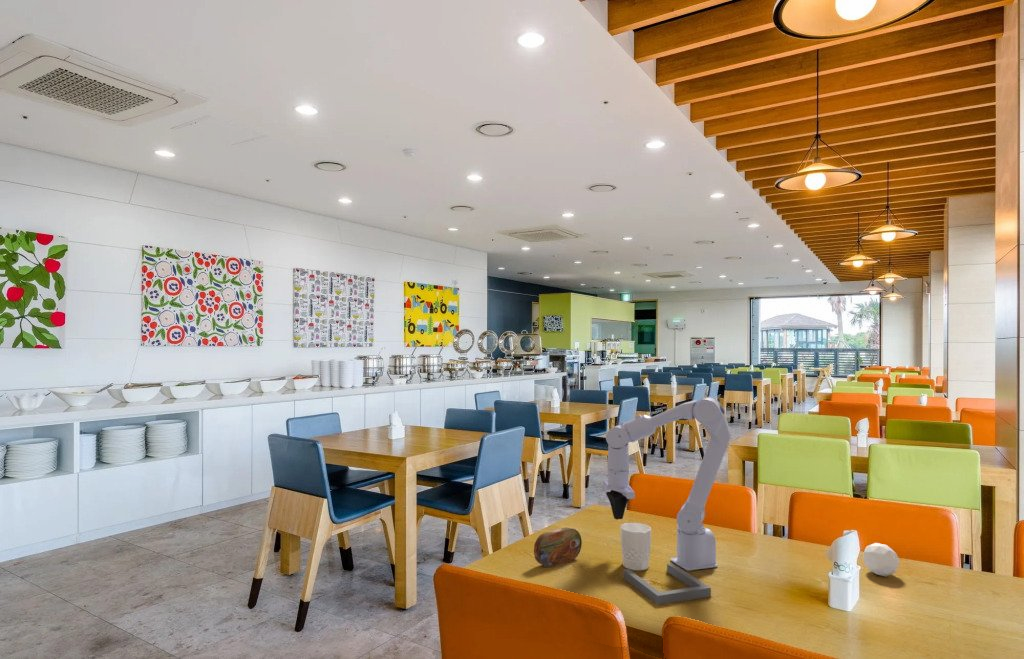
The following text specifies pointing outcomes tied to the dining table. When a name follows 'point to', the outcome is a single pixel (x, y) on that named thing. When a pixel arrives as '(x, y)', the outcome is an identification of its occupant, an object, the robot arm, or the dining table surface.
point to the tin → (557, 547)
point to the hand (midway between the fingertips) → (618, 518)
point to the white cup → (635, 545)
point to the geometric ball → (880, 559)
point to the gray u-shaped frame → (693, 592)
